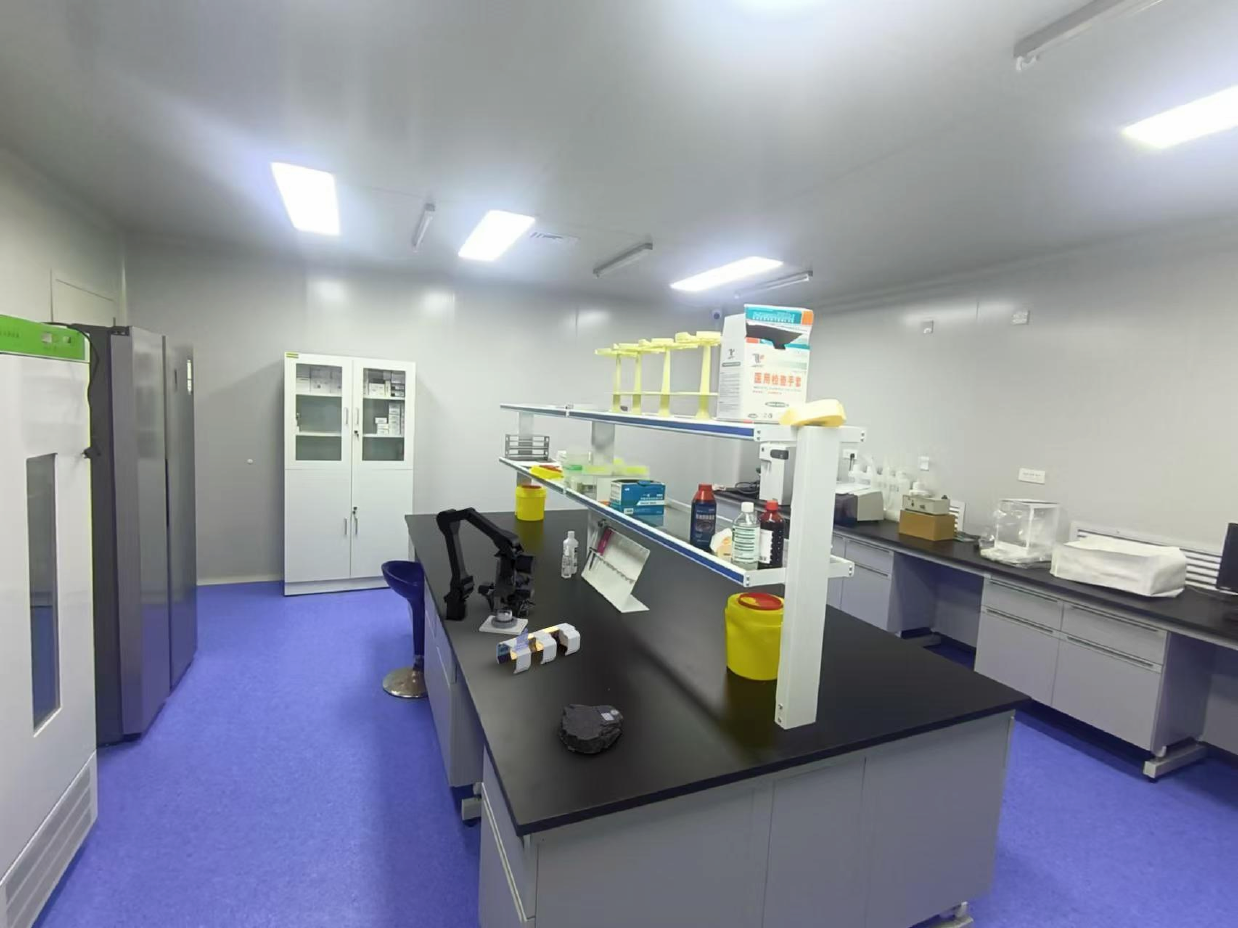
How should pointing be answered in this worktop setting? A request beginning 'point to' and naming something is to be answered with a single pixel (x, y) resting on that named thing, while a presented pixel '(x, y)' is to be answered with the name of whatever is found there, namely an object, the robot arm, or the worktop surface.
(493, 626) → the barrel plate
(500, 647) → the diorama
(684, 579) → the worktop surface
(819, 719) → the worktop surface
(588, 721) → the rock sample
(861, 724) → the worktop surface
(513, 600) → the vintage camera
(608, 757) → the worktop surface
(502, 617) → the metal cylinder
